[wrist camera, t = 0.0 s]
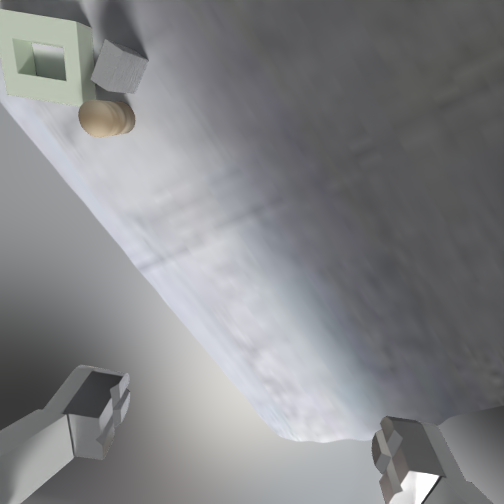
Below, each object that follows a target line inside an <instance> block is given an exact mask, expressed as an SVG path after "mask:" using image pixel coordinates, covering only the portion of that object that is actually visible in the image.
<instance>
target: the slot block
mask: <svg viewBox="0 0 504 504" xmlns="http://www.w3.org/2000/svg"><path fill="white" fill-rule="evenodd" d="M32 43H35V44H41V45H47V46H53V47H59V48H63V50H64V60H65V70H66V80H67V81H65V80H59V79H53V78H47V77H41V76H36V69H35V62H34V55H33V48H32ZM0 57H1V63H2V68H3V74H4V80H5V85H6V91H7V95H12V96H18V97H24V98H30V99H36V100H42V101H48V102H54V103H60V104H66V105H72V106H78V107H81V105H82V104H83V103H84V102H86V101H89V100H96V87H95V82H93V81H92V80H90V79H91V76H92V74H93V71H94V56H93V40H92V28H90V27H88V26H86V25H83V24H81V23H79V22H76V21H71V20H64V19H58V18H52V17H46V16H40V15H34V14H28V13H22V12H16V11H10V10H4V9H0Z"/></svg>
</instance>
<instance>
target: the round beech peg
mask: <svg viewBox="0 0 504 504" xmlns="http://www.w3.org/2000/svg"><path fill="white" fill-rule="evenodd" d="M78 116H79V121H80V124H81V126H82V128H83V129H84V130H85V131H86V132H87V133H88V134H89V135H91V136H93V137H97V138H101V137H107V136H113V135H119V134H125V133H128V132H130V131H131V130H132V129H133V128H134V125H135V115H134V112H133V110H132V109H131V108H130V106H128V105H127V104H126V103H124V102H121V101H101V100H89V101H86V102H84V103H83V104H82V105H81V107H80V109H79V114H78Z"/></svg>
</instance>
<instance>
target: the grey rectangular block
mask: <svg viewBox="0 0 504 504" xmlns="http://www.w3.org/2000/svg"><path fill="white" fill-rule="evenodd" d="M148 62H149V60H147V59H146V58H144V57H143V56H142V55H140V54H139V53H137V52H136V51H135V50H132V49H130V48H127V47H125V46H122V45H120V44H117V43H115V42H112V41H110V40H107V39H105V40H104V43H103V46H102V49H101V51H100V54H99V57H98V60H97V63H96V65H95V68H94V71H93V74H92V76H91V79H90V80H92V81H93V82H95V83H96V84H98V85H99V86H100V87H102V88H103V89H105V90H106V91H111V92H121V93H131V94H135V92H136V90H137V87H138V85H139V83H140V80H141V78H142V76H143V73H144V71H145V69H146V66H147V64H148Z"/></svg>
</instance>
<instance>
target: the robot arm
mask: <svg viewBox="0 0 504 504" xmlns="http://www.w3.org/2000/svg"><path fill="white" fill-rule="evenodd" d="M128 383H129V374H127V373H122V372H117V371H112V370H107V369H101V368H97V367H91V366H85V365H79V366H78V367H77V368H75V369H74V371H73V372H72V373H71V375H70V376H69V377H68V379H67V380H66V381H65V382H64V383H63V385H62V386H61V387H60V389H59V390H58V391H57V392H56V394H55V395H54V396H53V398H52V399H51V400H50V401H49V403H48V404H47V405H46V407H45V408H44V409H43V410H36V411H34V412H33V413H31V414H29V415H27V416H25V417H24V418H22V419H20V420H19V421H17V422H15V423H13V424H11V425H10V426H8V427H6V428H4V429H3V430H1V431H0V504H20V503H21V502H23V501H24V500H25V499H26V498H27V497H28V496H30V495H31V494H32V493H33V492H34V491H35V490H37V489H38V488H39V487H40V486H41V485H43V484H44V483H45V482H46V481H47V480H48V479H50V478H51V477H52V476H53V475H54V474H55V473H57V472H58V471H59V470H60V469H61V468H62V467H64V466H65V465H66V464H67V463H68V462H69V461H71V460H72V459H73V458H74V456H78V457H85V458H93V459H100V460H103V459H104V457H105V455H106V453H107V451H108V449H109V447H110V445H111V443H112V441H113V439H114V428H116V427H117V426H118V425H120V424H121V423H122V421H123V418H124V417H125V415H126V412H127V408H128V405H129V400H130V391H129V390H128V389H127V388H126V387H127V385H128ZM380 424H381V428H382V429H381V430H379V431H377V432H376V433H375V435H374V437H373V439H372V456H373V460H374V464H375V466H376V468H377V469H378V470H379V471H380V473H381V474H382V476H381V479H380V481H379V482H380V486H381V490H382V493H383V496H384V500H385V504H493V503H492V502H491V501H490V500H489V499H488V498H487V497H486V496H485V495H484V494H483V493H482V492H481V491H480V490H479V489H478V488H477V487H476V486H475V485H474V484H473V483H472V482H468V481H466V480H465V478H464V476H463V474H462V472H461V470H460V468H459V466H458V464H457V462H456V460H455V459H454V456H453V455H452V453H451V451H450V449H449V447H448V445H447V443H446V441H445V439H444V437H443V435H442V433H441V431H440V429H439V428H438V427H437V426H436V425H435V424H431V423H425V422H419V421H416V420H409V419H402V418H396V417H389V416H386V417H384V418H383V419H382V421H381V423H380Z"/></svg>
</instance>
